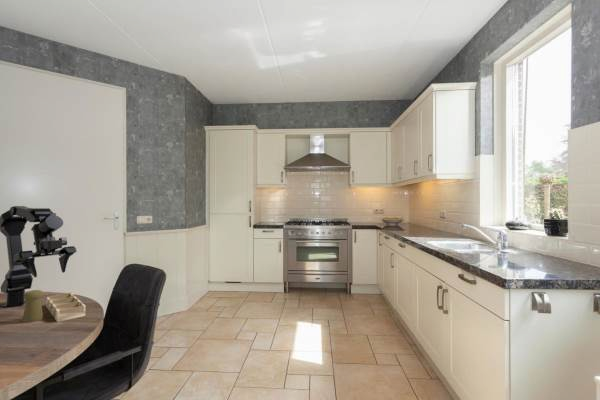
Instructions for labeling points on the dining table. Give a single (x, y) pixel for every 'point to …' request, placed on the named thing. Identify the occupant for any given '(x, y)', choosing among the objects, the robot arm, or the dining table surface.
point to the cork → (33, 306)
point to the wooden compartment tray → (65, 307)
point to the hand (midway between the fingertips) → (50, 274)
